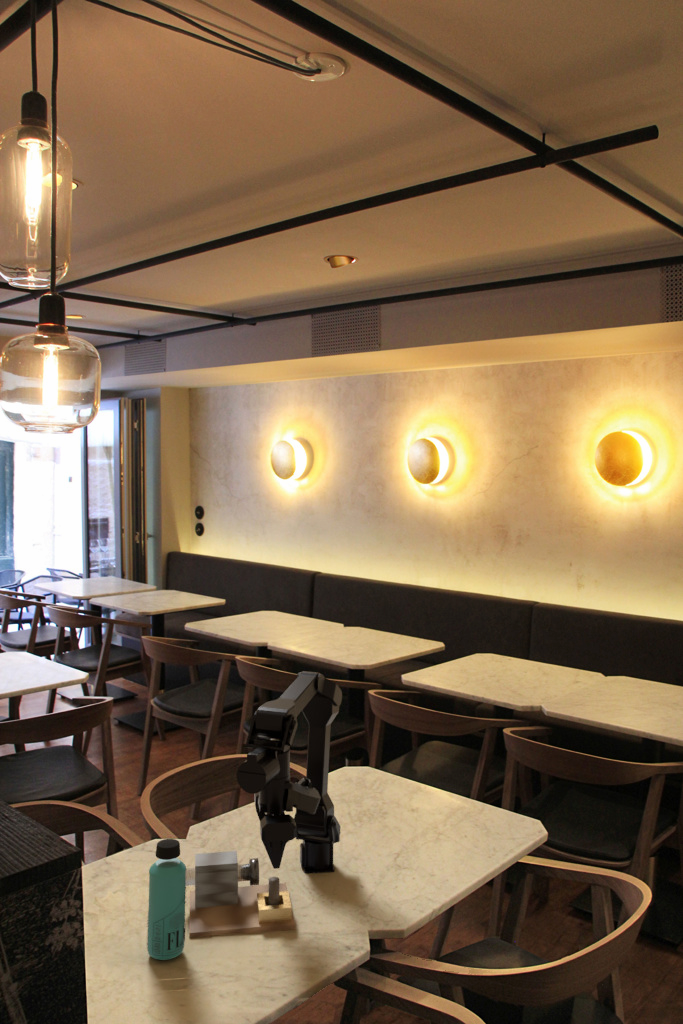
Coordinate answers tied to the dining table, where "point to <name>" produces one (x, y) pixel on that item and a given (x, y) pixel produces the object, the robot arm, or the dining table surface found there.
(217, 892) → the shaft stand
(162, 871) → the beverage bottle
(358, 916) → the dining table surface
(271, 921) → the frame
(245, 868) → the shaft
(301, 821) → the robot arm
